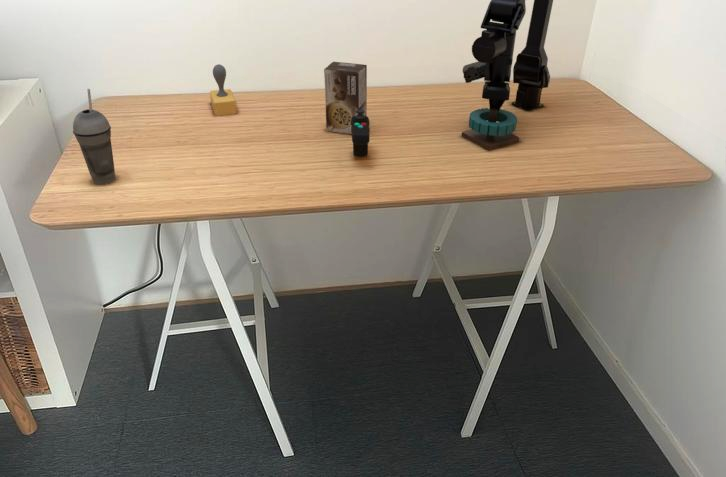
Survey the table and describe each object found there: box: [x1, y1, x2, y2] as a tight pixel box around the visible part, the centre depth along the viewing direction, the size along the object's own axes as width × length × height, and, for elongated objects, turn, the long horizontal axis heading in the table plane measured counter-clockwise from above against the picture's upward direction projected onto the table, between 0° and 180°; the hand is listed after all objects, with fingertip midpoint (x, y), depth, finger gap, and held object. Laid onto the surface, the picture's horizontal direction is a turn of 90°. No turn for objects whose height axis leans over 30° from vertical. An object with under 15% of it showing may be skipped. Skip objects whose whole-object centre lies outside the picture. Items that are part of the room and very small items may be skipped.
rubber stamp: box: [209, 63, 238, 116], centre depth 166 cm, size 10×6×12 cm, turn 18°
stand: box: [460, 107, 521, 151], centre depth 151 cm, size 10×10×8 cm
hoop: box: [468, 107, 518, 136], centre depth 150 cm, size 11×11×2 cm
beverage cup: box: [72, 88, 116, 186], centre depth 127 cm, size 7×7×20 cm
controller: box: [350, 109, 371, 158], centre depth 141 cm, size 4×12×10 cm, turn 1°
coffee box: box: [323, 61, 368, 135], centre depth 153 cm, size 9×6×16 cm
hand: (492, 115), depth 154 cm, fingers closed on hoop, 2 cm apart
